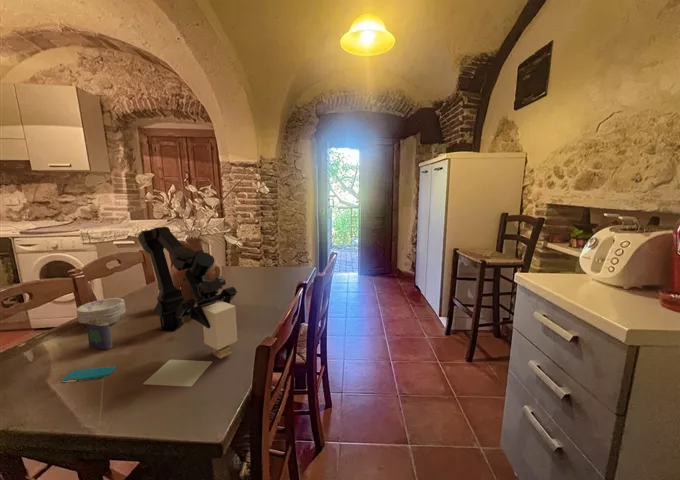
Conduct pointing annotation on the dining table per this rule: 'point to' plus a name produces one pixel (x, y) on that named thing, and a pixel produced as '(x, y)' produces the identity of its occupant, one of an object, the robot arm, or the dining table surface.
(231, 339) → the upright cream box
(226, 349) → the block
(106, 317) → the paper bowls
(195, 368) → the mat
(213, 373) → the dining table surface
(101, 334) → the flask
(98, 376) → the sponge
